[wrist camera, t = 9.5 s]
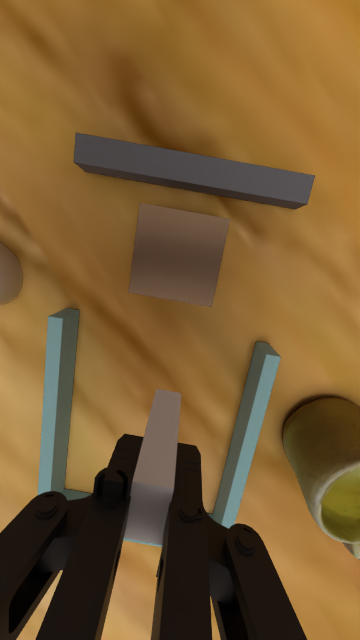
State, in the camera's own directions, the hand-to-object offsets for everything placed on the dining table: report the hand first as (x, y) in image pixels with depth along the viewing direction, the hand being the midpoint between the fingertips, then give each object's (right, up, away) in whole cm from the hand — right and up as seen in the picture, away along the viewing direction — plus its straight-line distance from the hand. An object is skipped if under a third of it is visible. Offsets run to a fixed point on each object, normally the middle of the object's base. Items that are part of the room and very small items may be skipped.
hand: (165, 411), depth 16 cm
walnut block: (+1, +11, +8) cm, 14 cm away
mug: (+16, -8, +12) cm, 21 cm away
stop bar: (+2, +17, +6) cm, 19 cm away
